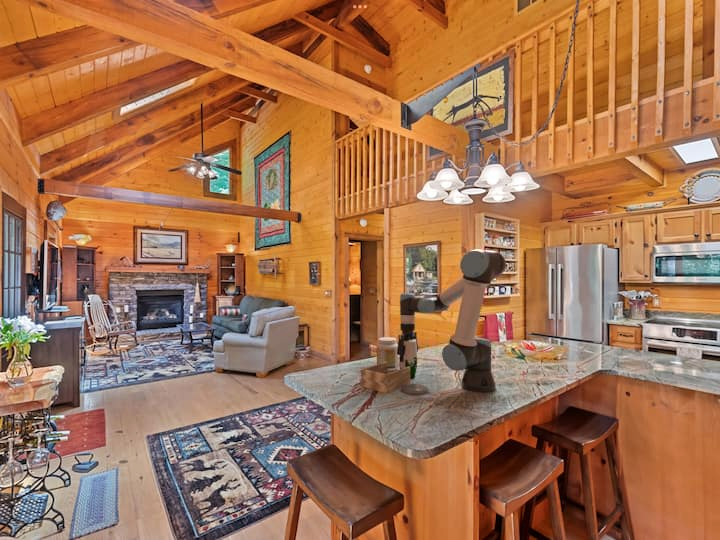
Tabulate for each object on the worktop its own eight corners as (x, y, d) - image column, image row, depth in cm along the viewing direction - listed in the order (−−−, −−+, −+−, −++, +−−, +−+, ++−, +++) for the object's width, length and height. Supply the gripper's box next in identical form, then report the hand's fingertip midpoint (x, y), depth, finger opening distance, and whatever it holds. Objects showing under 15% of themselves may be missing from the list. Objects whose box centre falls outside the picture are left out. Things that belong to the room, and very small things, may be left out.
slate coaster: (432, 389, 160) (432, 387, 160) (418, 396, 151) (418, 394, 151) (410, 384, 168) (410, 382, 168) (396, 390, 159) (396, 388, 159)
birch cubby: (410, 383, 170) (410, 366, 171) (386, 393, 156) (386, 375, 156) (385, 377, 180) (385, 361, 181) (360, 386, 166) (360, 369, 166)
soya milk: (400, 371, 187) (400, 334, 188) (417, 372, 185) (417, 335, 186) (398, 376, 179) (398, 337, 179) (416, 377, 177) (416, 337, 177)
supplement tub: (384, 364, 206) (384, 336, 206) (402, 368, 199) (402, 338, 199) (372, 369, 196) (372, 339, 196) (391, 372, 189) (391, 341, 189)
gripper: (412, 320, 193) (413, 361, 193) (389, 324, 177) (389, 369, 176) (424, 321, 188) (425, 363, 188) (401, 325, 172) (402, 371, 171)
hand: (408, 366), depth 182 cm, fingers closed on soya milk, 9 cm apart
